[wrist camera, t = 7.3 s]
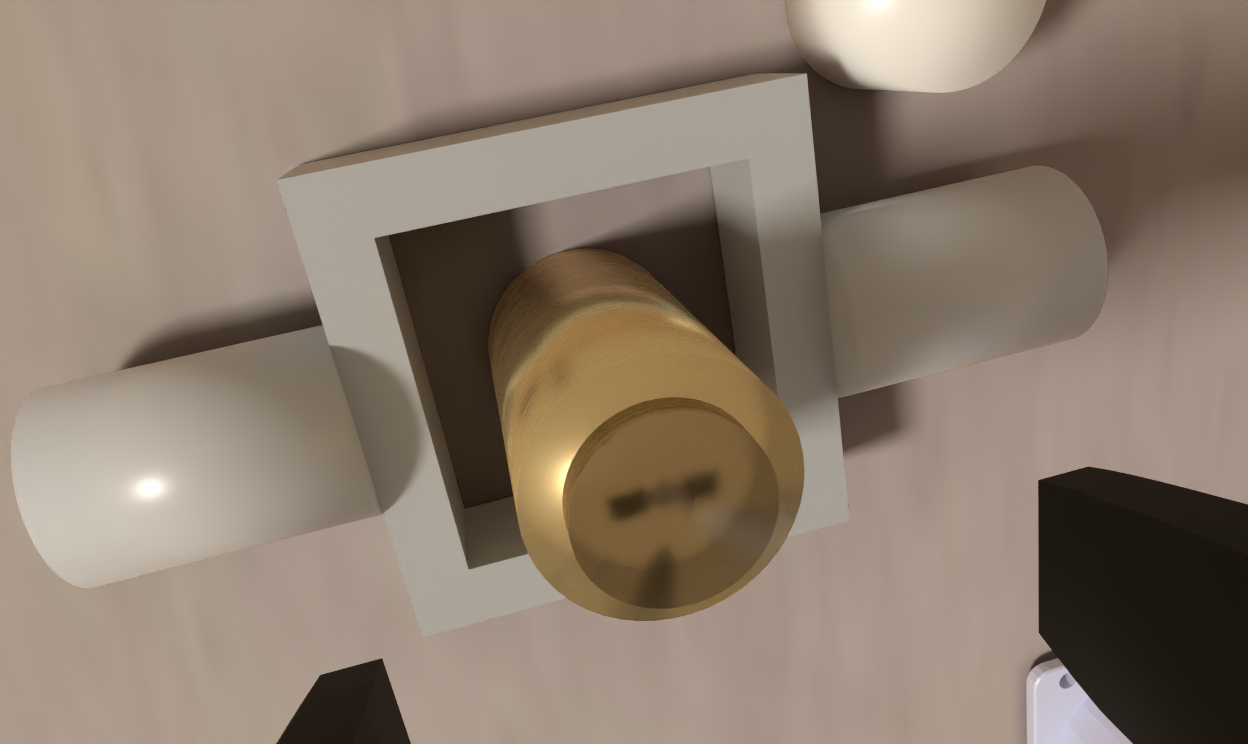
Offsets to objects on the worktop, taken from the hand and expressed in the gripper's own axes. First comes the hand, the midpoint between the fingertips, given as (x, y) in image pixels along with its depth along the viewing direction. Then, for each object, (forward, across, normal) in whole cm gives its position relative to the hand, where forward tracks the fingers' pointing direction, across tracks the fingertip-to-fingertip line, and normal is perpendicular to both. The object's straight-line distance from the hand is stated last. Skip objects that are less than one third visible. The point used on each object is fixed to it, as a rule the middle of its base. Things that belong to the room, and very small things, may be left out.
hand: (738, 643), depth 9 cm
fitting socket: (+10, 0, 0) cm, 10 cm away
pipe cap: (+10, -7, -6) cm, 14 cm away
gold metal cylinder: (+10, 0, 0) cm, 10 cm away
